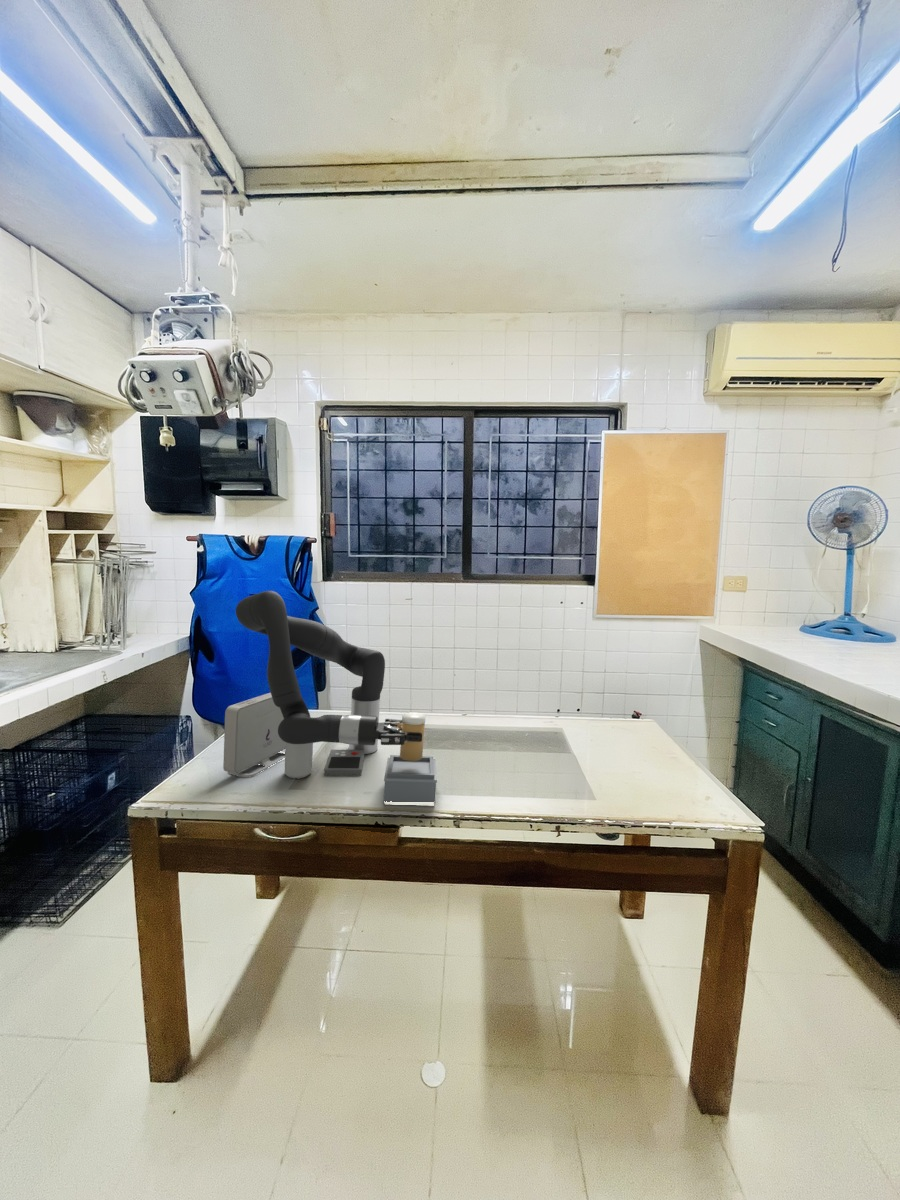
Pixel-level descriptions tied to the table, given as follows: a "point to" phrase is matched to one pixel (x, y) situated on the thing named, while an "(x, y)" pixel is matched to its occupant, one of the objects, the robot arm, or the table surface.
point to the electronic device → (344, 762)
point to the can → (298, 760)
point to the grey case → (410, 780)
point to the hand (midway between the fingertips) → (421, 732)
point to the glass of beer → (412, 724)
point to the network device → (252, 735)
